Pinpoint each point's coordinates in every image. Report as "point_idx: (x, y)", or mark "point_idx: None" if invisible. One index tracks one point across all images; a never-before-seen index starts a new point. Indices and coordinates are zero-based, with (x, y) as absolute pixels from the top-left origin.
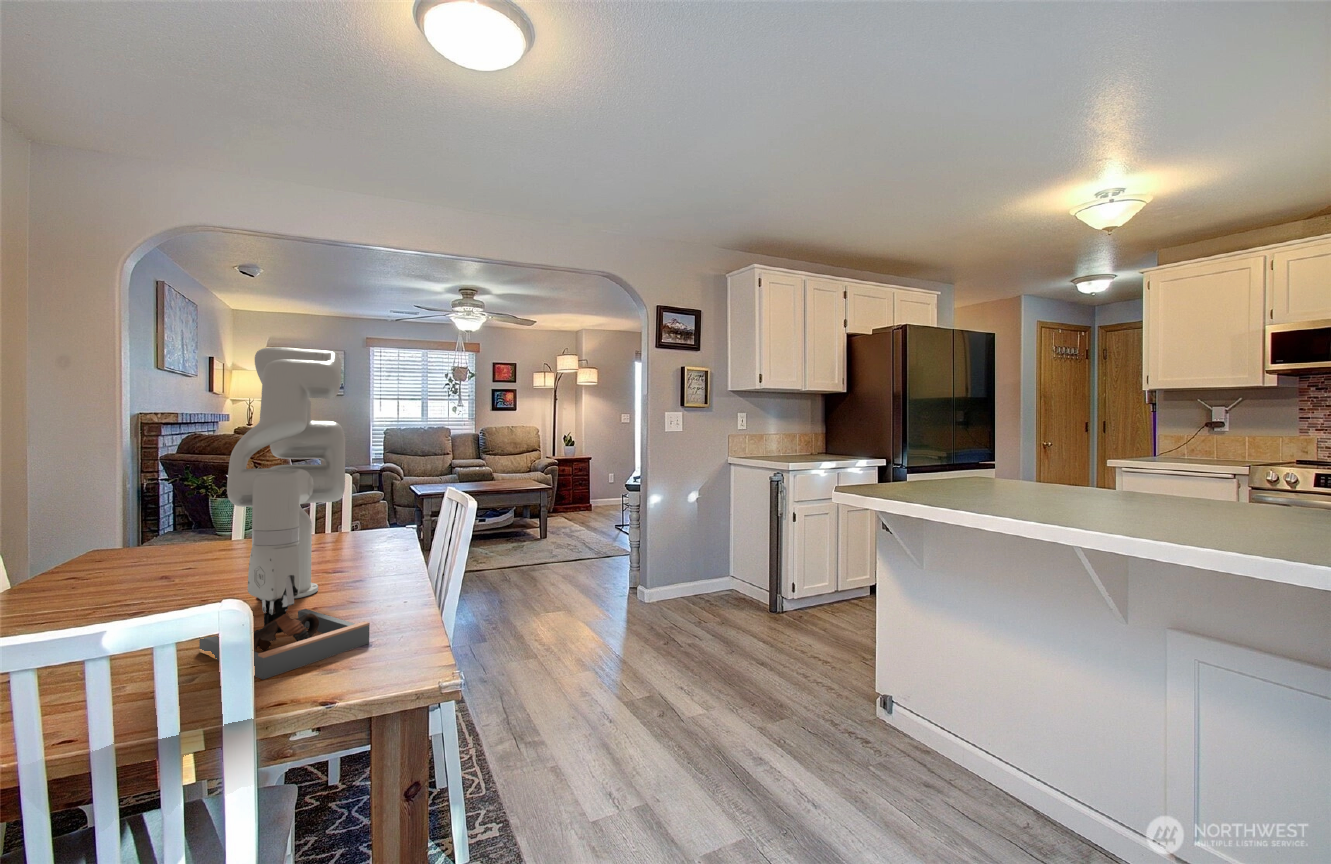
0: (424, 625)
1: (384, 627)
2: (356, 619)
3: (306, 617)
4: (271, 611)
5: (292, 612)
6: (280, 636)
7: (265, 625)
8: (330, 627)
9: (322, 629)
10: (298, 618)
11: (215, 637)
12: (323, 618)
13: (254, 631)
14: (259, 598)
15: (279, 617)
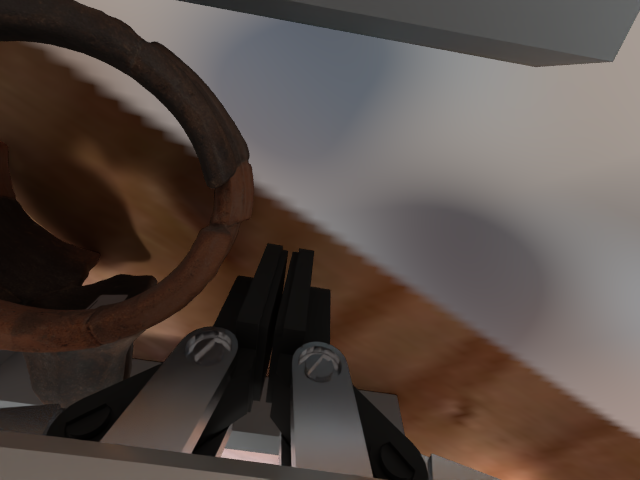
0: None
1: None
2: (264, 462)
3: (32, 378)
4: (211, 352)
5: (523, 454)
6: (351, 310)
7: (203, 239)
8: None
9: None
10: (53, 356)
11: (488, 20)
12: None
13: (206, 156)
14: (484, 476)
15: (106, 314)
